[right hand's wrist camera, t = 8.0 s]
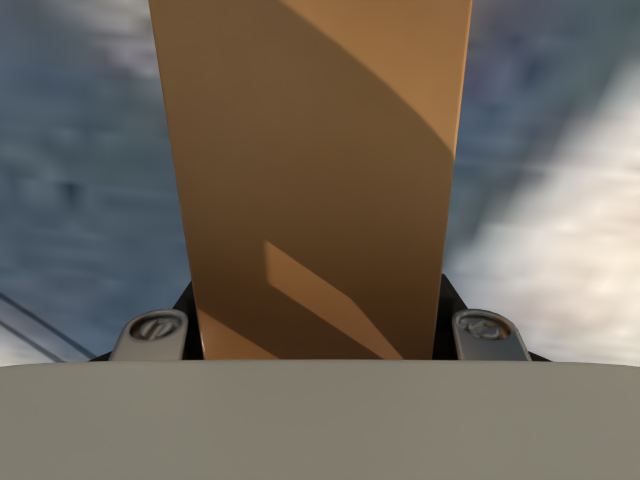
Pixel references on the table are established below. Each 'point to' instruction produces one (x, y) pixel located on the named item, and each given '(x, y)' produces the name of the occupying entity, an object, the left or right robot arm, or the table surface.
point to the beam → (313, 169)
